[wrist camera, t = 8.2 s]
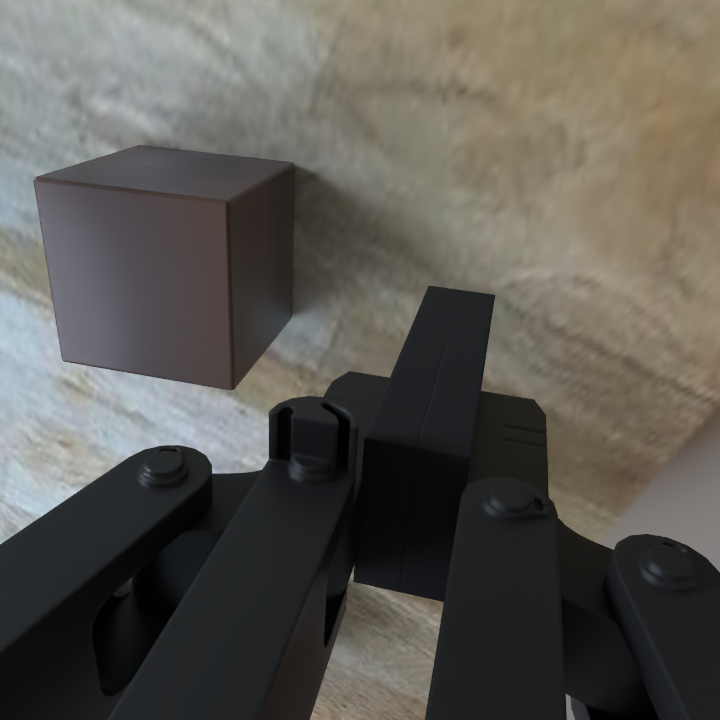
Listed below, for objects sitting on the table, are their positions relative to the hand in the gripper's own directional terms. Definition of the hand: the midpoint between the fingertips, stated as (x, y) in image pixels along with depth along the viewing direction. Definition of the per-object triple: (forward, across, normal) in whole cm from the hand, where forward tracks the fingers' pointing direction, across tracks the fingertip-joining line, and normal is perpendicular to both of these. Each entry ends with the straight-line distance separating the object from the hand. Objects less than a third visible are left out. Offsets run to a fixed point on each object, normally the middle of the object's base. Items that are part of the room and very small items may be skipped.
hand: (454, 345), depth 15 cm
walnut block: (+5, -8, 0) cm, 9 cm away
